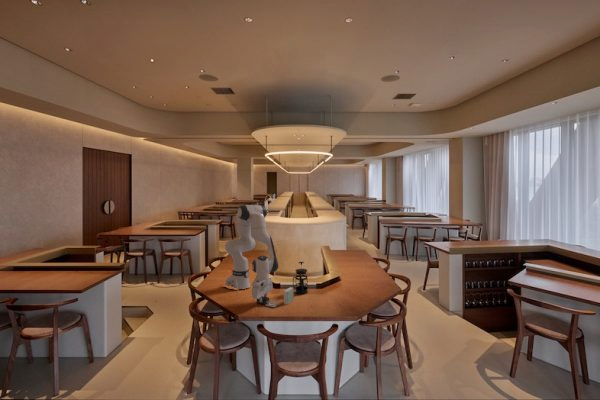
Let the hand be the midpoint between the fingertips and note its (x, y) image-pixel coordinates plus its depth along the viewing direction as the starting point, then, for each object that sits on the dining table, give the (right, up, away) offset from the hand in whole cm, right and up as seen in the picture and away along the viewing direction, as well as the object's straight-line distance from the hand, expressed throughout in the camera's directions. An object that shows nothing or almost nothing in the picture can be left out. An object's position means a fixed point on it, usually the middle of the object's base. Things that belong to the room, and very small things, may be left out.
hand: (262, 300), depth 210 cm
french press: (+26, -1, +22) cm, 34 cm away
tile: (+17, -2, +3) cm, 18 cm away
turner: (+3, -2, -2) cm, 4 cm away
